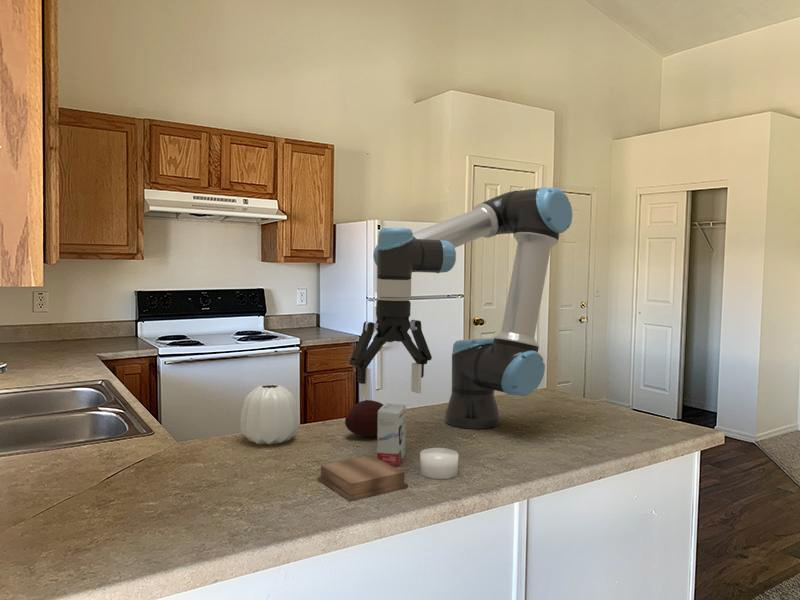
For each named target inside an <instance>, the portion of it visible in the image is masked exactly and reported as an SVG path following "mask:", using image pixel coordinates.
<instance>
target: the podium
mask: <svg viewBox="0 0 800 600" xmlns="http://www.w3.org/2000/svg"><path fill="white" fill-rule="evenodd" d="M405 474H406V473H405V471H404V470H401V469H400V468H397V466H392V465H390V464H388V463H386V462H384V461H382V460H380V459H378V458H377V456H376V457H375V456H373V455H368V456H363V457H357V458H352V459H347V460H343V461H341V460H340V461H337V462H331V463H327V464H322V465H321V466H320V476H317V481H319V482H320V483H322V484H323V485H324V486H326V487H328V488H329V489H331V490H332V491H334V492H335V493H337V494H339V496H341V497H343V498H345V500H347V501H349V502H354V501H357V500H361V499H365V498H369V497H373V496H377V495H381V494H382V495H383V494H386V493H390V492H394V491H398V490H402V489H406V488H408V487H409V484H408V483H407V482H405Z"/></svg>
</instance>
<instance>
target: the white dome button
mask: <svg viewBox="0 0 800 600" xmlns="http://www.w3.org/2000/svg"><path fill="white" fill-rule="evenodd" d="M419 474H421V476H423V477H424V478H425V477H426V478H427V479H428V478H430V479H436V480H446V479H452V478H455V477H457V476H458V474H459V452H458V451H456V450H454V449H451V448H446V447H445V448H444V447H431V448H430V447H429V448H425V449H422V450H421V451H420V452H419Z"/></svg>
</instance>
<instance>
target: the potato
mask: <svg viewBox="0 0 800 600" xmlns="http://www.w3.org/2000/svg"><path fill="white" fill-rule="evenodd" d="M383 405H384V404H383V403H382V402H379V401H376V400H371V399H368V400H366V399H364V400H362V401H359V402H358V403H355V404H354V405H353V406H352V407H351V408H350V410H349V411H347V414H346V416H345V421H344V425H345V427H346V428H347V430H348V431H349V432H351V433H352V434H353V435H356V436H358V437H361V438H362V437H363V438H372V437H376V436H377V431H378V410H379V409H380V408H381V407H382V406H383Z"/></svg>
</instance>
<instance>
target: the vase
mask: <svg viewBox="0 0 800 600" xmlns="http://www.w3.org/2000/svg"><path fill="white" fill-rule="evenodd" d="M240 412H241V413H240V420H239V428H240V432H241V433H242V435H243V436H244V437H245V438H246V439H247V440H248V441H249V442H250V443H255V444H257V445H273V444H282V443H283V442H287V441H289V440H291V439H292V437H294V436H295V435H296V433H297V432H298V430H299V426H300V416H299V410H298V406H297V402H296V399H295V396H294V395H293V393H292V392H291V391H290V390H289V389H287V388H286V387H284V386H282V385H280V384H276V383H275V384H274V383H267V384H261V385H258V386H257V387H255V388H253V389H252V390H251V391H250V392H249V393H248V394H247V395H246V396H245V399H244V401H243V403H242V407H241V411H240Z"/></svg>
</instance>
